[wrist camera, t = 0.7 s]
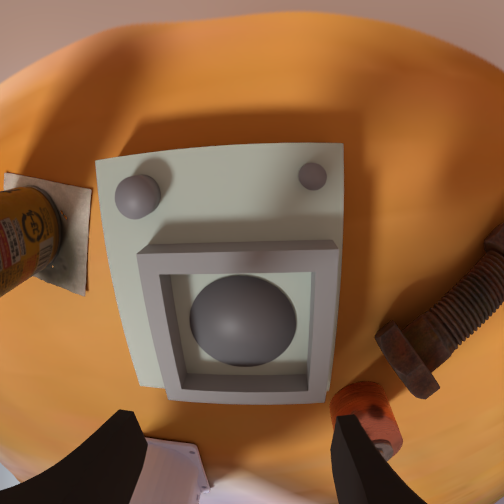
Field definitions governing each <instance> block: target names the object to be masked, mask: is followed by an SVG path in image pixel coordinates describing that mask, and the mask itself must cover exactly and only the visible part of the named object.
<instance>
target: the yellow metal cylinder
mask: <svg viewBox="0 0 504 504" xmlns="http://www.w3.org/2000/svg"><path fill="white" fill-rule="evenodd" d="M91 191H92V190H91V189H87V188H81V187H77V186H72V185H66V184H61V183H57V182H52V181H47V180H43V179H38V178H33V177H28V176H23V175H16V174H12V173H4V191H0V297H1V296H3V295H4V294H6V293H7V292H9V291H10V290H12V289H14V288H15V287H16V286H18V285H19V284H21V283H22V282H24V281H26V280H27V279H29V278H30V277H32V276H35V277H37V278H39V279H41V280H44V281H45V282H47V283H51V284H54V285H56V286H59V287H62V288H64V289H67V290H69V291H71V292H73V293H76V294H79V295H82V296H85V285H86V263H87V244H88V236H89V234H88V224H89V215H90V200H91ZM61 210H62V212H63V215H62V214H61V212H60V211H61ZM64 215H66V217H67V220H66V219H65V218H64ZM52 265H53V266H54V267H53V268H52Z"/></svg>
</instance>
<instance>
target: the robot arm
mask: <svg viewBox="0 0 504 504" xmlns="http://www.w3.org/2000/svg"><path fill="white" fill-rule="evenodd" d="M330 450H331V462H332V473H333V478H334V483H335V488H336V493H337V497H338V502H339V504H427V503H426V502H425V501H423V500H422V499H421V498H420V497H419V496H418V495H417V494H416V493H415V492H414V491H413V490H411V489H410V488H409V487H408V486H407V485H406V483H405V482H404V481H403V480H402V479H401V478H400V477H399V476H398V475H397V473H396V472H395V471H394V470H393V469H392V468H391V466H390V465H389V464H388V463H387V461H386V460H385V459H384V457H383V456H382V455H381V453H380V452H379V451H378V449H377V448H376V447H375V445H374V444H373V442H372V441H371V439H370V438H369V436H368V435H367V433H366V431H365V430H364V428H363V427H362V425H361V423H360V422H359V420H358V418H357V416H356V415H354V414H351V415H343V416H337V417H336V423H335V428H334V434H333V439H332V444H331V449H330ZM209 492H210V486H209V483H208V480H207V477H206V474H205V471H204V468H203V464H202V461H201V458H200V455H199V451H198V448H197V446H196V445H194V444H191V443H182V442H173V441H166V440H159V439H152V438H146V437H144V434H143V432H142V430H141V428H140V426H139V423H138V421H137V419H136V416H135V414H134V412H133V411H126V410H120V409H119V410H118V411H117V412H116V413H115V414H114V415H113V416H112V417H111V418H109V419H108V420H107V421H106V422H105V423H104V424H103V425H102V426H101V427H100V428H99V429H98V430H97V431H96V432H94V433H93V434H92V435H91V436H90V437H89V438H88V439H87V440H86V441H84V442H83V443H82V444H81V445H80V446H79V447H77V448H76V449H75V450H74V451H72V452H71V453H70V454H69V455H67V456H66V457H65V458H64V459H62V460H61V461H60V462H58V463H57V464H55V465H54V466H52V467H51V468H49V469H47V470H46V471H44V472H42V473H41V474H39V475H37V476H35V477H33V478H31V479H29V480H27V481H25V482H23V483H20V484H18V485H15V486H13V487H10V488H7V489H4V490H1V491H0V504H199V499H200V494H201V493H209Z"/></svg>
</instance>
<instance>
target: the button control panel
mask: <svg viewBox="0 0 504 504" xmlns="http://www.w3.org/2000/svg"><path fill="white" fill-rule="evenodd" d="M95 165H96V176H97V186H98V195H99V204H100V211H101V219H102V226H103V232H104V239H105V245H106V251H107V256H108V262H109V267H110V272H111V277H112V282H113V287H114V291H115V296H116V300H117V305H118V309H119V313H120V317H121V321H122V325H123V329H124V333H125V337H126V340H127V344H128V347H129V351H130V354H131V358H132V361H133V365H134V368H135V371H136V374H137V377H138V381H139V384H140V386H146V387H155V388H165V390H166V394H167V397H168V400H175V401H187V402H200V403H217V404H248V405H276V404H307V403H324V402H325V397H326V391H329V388H330V381H331V373H332V366H333V357H334V349H335V340H336V330H337V320H338V308H339V296H340V282H341V266H342V246H343V216H344V147H343V143H261V144H239V145H222V146H208V147H196V148H185V149H175V150H166V151H158V152H149V153H142V154H134V155H127V156H121V157H114V158H108V159H102V160H96V161H95Z"/></svg>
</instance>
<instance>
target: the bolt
mask: <svg viewBox="0 0 504 504" xmlns="http://www.w3.org/2000/svg"><path fill="white" fill-rule="evenodd" d="M484 249H485V252H486V254H485V255H484V257H483V258H481V260H480V261H478V263H477V265H475V266H474V268H473V269H471V270H470V272H468V273H467V276H464V277H463V279H461V280H460V282H459V283H457V284H456V286H454V287H453V290H450V291H449V293H447V294H445V297H442V298H441V299H442V301H440V300H439V301H438V305H437V304H435V305H434V308H430V311H427V312H426V313H424V314H423V315H420V316H419V317H418V318H417V319H415V320H414V321H413V322H412V323H411V324H410V325H408V326H407V327H406V328H405V329H403V330H402V331H401V330H400V329H399V327H398V326H397V325H396V323H395V322H394V321H393V320H392V321H390V322H389V323H388V324H387V325H385V326H384V327H383V328H382V329H380V330H379V331H378V332H377V333H376V335H375V339H376V341H377V343H378V345H379V347H380V349H381V351H382V352H383V354H384V356H385V357H386V359H387V361H388V362H389V364H390V365H391V366H392V368H393V369H394V371H395V372H396V373H397V375H398V376H399V378H400V379H401V380H402V382H403V383H404V384H405V386H406V387H407V388H408V390H409V391H410V392H411V393H412V394H413V395H414V396H415V397H417V398H420V399H427V398H428V397H429V396H431V395H432V394H433V393H435V392H436V391H437V390H438V389H440V386H439V384H438V383H437V381H436V380H435V378H434V377H433V375H432V372H433V371H434V370H435V369H436V368H438V367H439V366H440V365H441V364H442V363H444V362H445V361H446V360H447V359H448V358H449V357H450V356H451V355H452V353H453V352H454V350H455V349H457V348H458V344H459V345H461V344H462V341H465V340H466V337H467V338H469V336H470V334H471V335H472V334H473V333H474V332H473V330H474V331H477V327H481V323H482V324H484V323H485V320H488V319H489V316H492V312H493V313H495V312H496V309H498V308H499V305H502V303H503V302H504V223H502V224H500V225H499V226H498V227H496V228H495V229H494V230H493V231H492V233H491V234H490V235H489V236H488V237H487V238H486V239H485V240H484Z"/></svg>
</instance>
